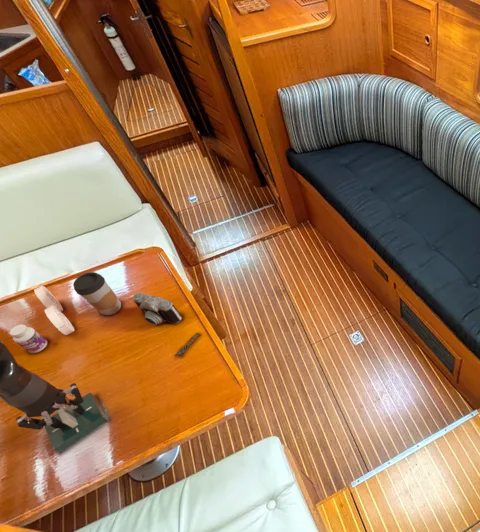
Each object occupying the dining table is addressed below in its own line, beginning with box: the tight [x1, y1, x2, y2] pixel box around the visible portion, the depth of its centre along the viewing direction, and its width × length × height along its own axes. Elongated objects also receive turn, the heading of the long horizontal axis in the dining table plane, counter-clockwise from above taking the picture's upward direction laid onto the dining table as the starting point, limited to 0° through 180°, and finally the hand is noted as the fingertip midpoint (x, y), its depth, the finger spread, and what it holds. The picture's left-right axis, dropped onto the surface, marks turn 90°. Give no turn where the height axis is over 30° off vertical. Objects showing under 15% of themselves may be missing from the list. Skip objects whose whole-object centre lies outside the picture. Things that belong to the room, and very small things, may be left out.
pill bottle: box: [9, 323, 48, 354], centre depth 123 cm, size 5×5×10 cm
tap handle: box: [56, 408, 78, 428], centre depth 106 cm, size 6×1×5 cm, turn 45°
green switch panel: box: [43, 392, 109, 453], centre depth 109 cm, size 12×10×3 cm
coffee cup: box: [72, 271, 122, 316], centre depth 131 cm, size 8×8×15 cm
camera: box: [132, 292, 183, 326], centre depth 130 cm, size 15×7×10 cm, turn 72°
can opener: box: [176, 332, 200, 357], centre depth 126 cm, size 9×2×1 cm, turn 151°
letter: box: [33, 285, 75, 336], centre depth 130 cm, size 22×2×10 cm, turn 46°
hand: (71, 418), depth 107 cm, fingers open, 4 cm apart
